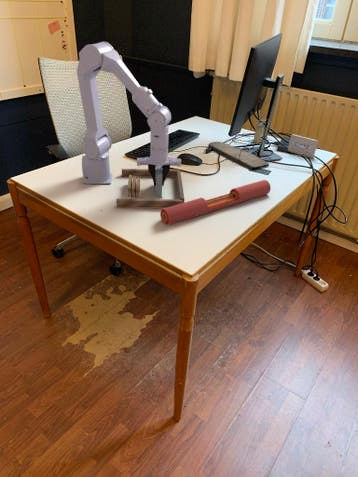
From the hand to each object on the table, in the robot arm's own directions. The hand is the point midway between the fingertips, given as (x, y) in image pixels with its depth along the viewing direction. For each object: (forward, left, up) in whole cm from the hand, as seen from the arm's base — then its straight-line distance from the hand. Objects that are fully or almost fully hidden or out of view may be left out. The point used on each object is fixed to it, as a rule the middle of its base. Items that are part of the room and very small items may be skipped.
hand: (158, 184), depth 123 cm
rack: (-3, 0, -2) cm, 4 cm away
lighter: (+49, +53, -2) cm, 72 cm away
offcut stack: (-9, 0, -2) cm, 9 cm away
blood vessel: (+20, -11, -3) cm, 22 cm away
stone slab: (+34, +33, -3) cm, 48 cm away
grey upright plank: (0, 0, -2) cm, 2 cm away
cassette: (+64, +37, -2) cm, 74 cm away
